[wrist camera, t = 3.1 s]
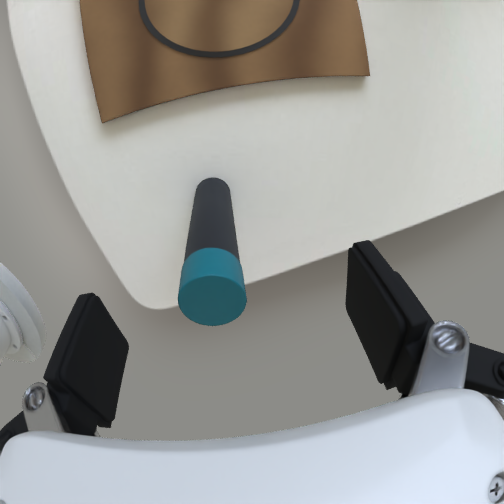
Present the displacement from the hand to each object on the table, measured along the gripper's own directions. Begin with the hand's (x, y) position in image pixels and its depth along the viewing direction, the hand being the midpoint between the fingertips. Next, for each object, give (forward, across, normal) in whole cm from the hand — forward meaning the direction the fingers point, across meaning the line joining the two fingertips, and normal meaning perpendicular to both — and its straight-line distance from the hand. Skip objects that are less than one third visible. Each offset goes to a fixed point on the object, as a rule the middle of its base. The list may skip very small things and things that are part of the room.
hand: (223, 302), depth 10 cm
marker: (+11, +1, 0) cm, 11 cm away
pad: (+11, -2, -14) cm, 18 cm away
